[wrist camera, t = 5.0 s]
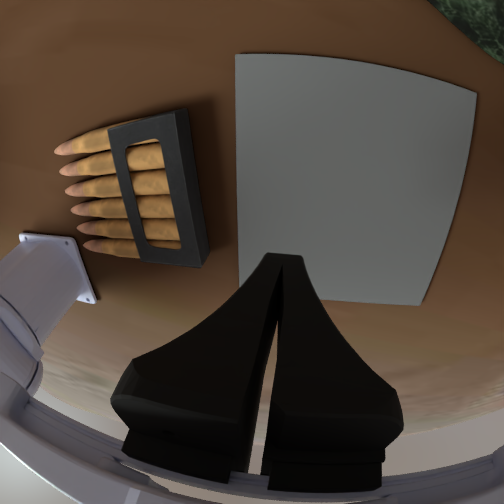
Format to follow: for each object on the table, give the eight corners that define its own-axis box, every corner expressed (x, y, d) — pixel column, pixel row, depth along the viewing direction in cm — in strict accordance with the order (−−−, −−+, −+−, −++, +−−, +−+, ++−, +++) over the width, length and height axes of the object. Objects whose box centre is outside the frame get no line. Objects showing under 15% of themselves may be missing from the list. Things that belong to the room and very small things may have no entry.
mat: (240, 288, 23) (239, 291, 23) (236, 54, 14) (235, 54, 14) (418, 302, 21) (419, 305, 21) (473, 92, 12) (476, 93, 12)
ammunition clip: (202, 269, 20) (81, 259, 23) (210, 254, 22) (92, 248, 24) (173, 111, 15) (44, 144, 17) (187, 107, 16) (60, 137, 19)
